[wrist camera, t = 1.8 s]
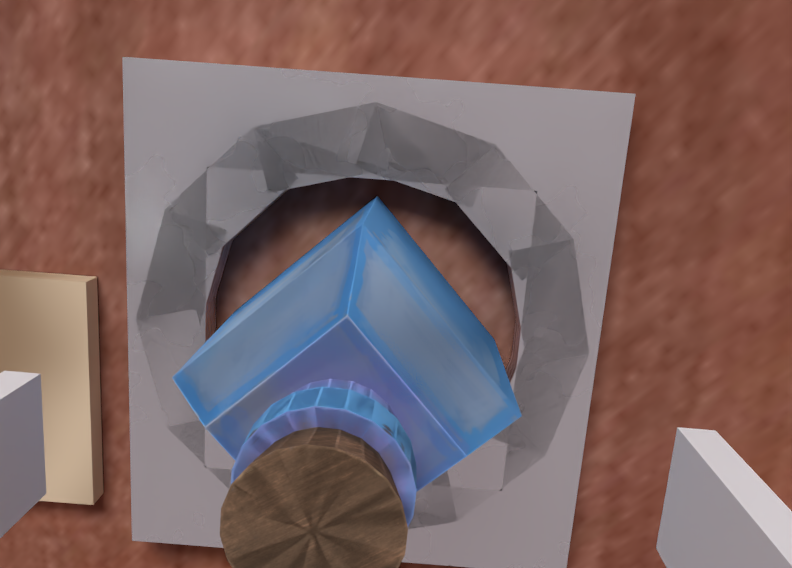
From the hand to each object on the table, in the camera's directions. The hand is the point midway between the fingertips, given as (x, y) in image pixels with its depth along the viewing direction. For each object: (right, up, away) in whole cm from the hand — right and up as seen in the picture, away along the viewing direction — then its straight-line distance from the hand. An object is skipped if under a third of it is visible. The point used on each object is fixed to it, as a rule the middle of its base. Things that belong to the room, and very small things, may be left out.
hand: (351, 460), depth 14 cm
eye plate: (0, +2, +9) cm, 9 cm away
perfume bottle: (0, +2, +9) cm, 9 cm away
